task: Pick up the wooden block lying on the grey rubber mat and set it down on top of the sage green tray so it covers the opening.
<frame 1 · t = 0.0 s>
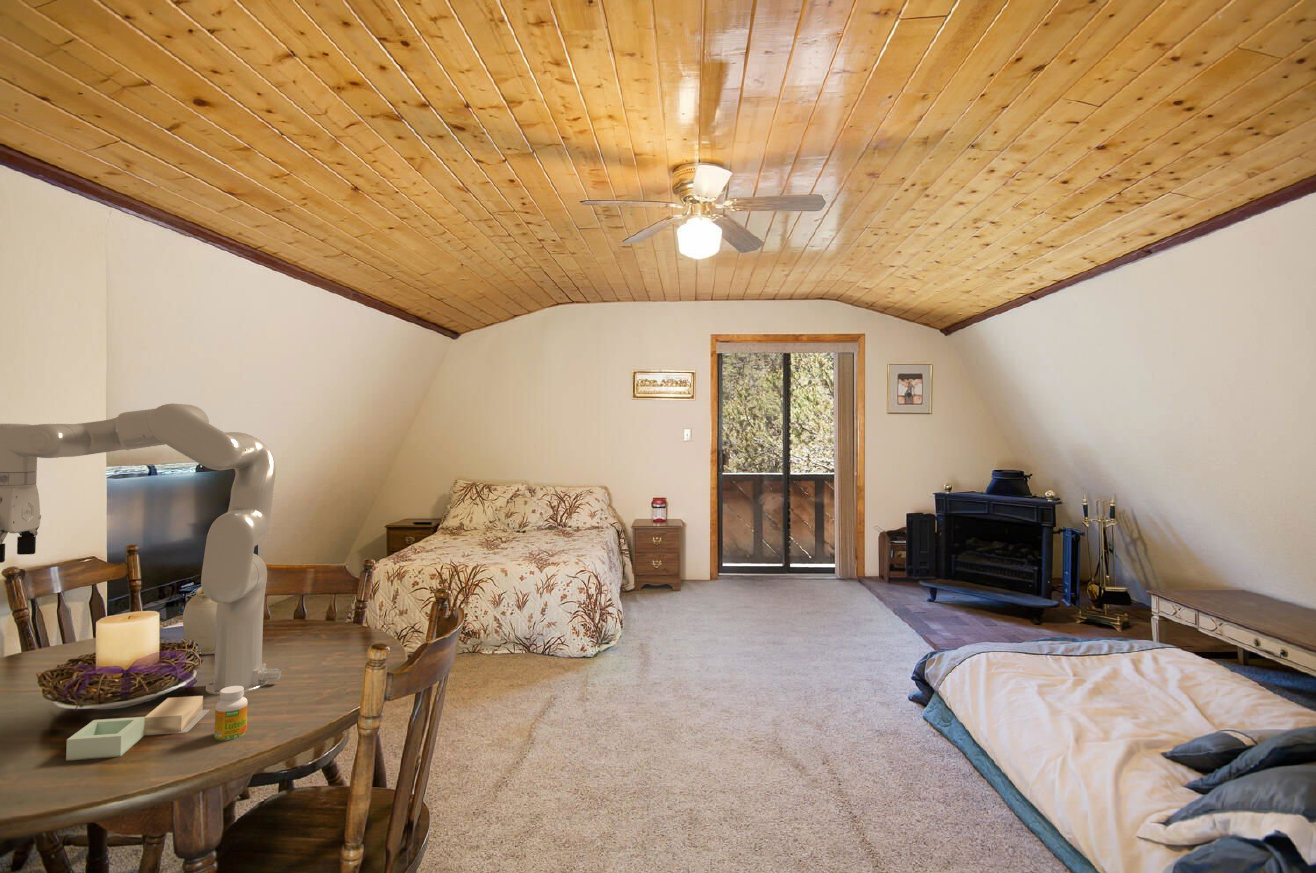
hand: (11, 558, 146), 31 cm above the table, tool pointing down, fingers open, 9 cm apart
wooden block: (174, 722, 136), point 1 cm above the table, touching mat
mat: (174, 725, 136), on the table
sage green tray: (106, 751, 125), on the table
jug: (215, 648, 184), on the table
supplement bottle: (230, 739, 132), on the table
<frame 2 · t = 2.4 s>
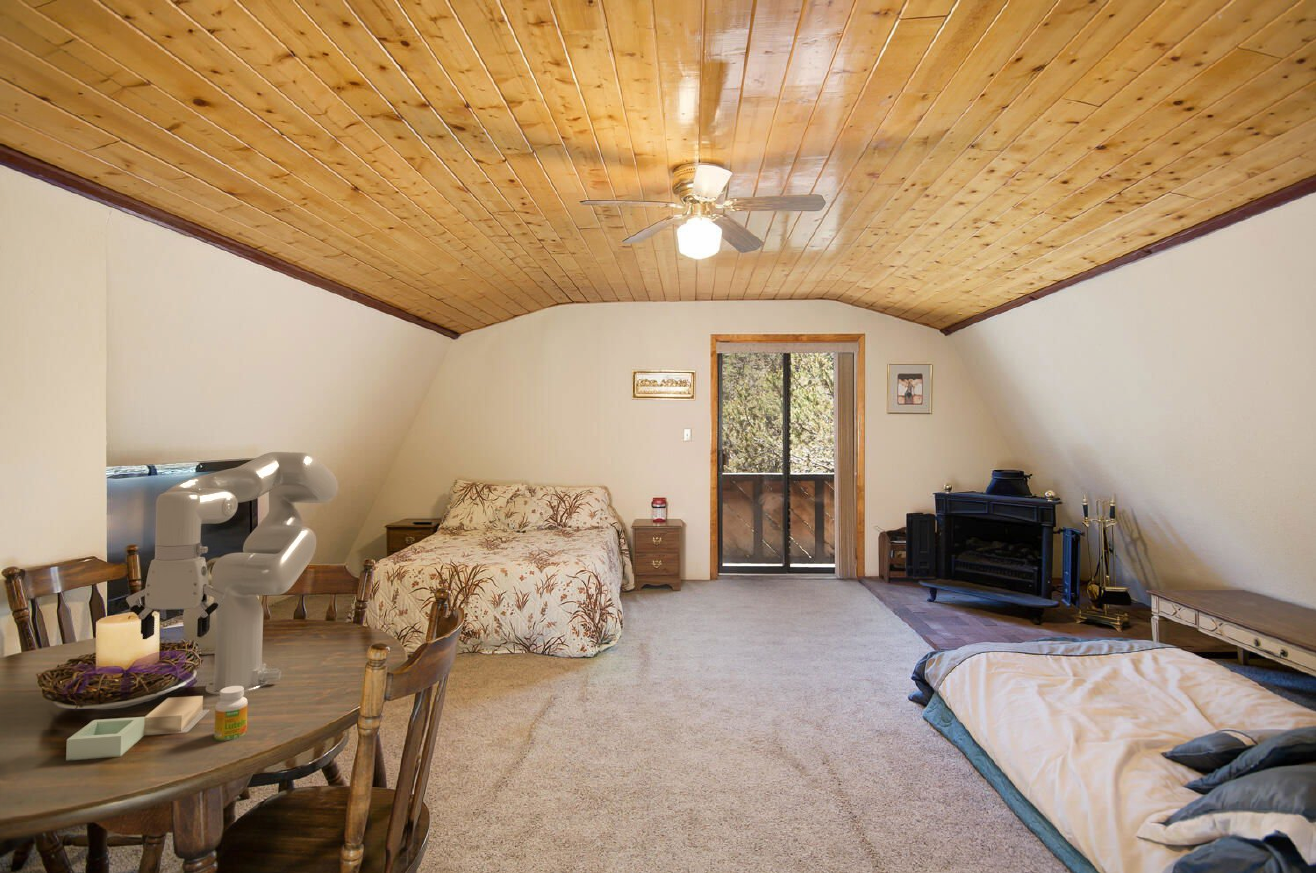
hand: (175, 636, 136), 18 cm above the table, tool pointing down, fingers open, 9 cm apart
nothing on the table moved.
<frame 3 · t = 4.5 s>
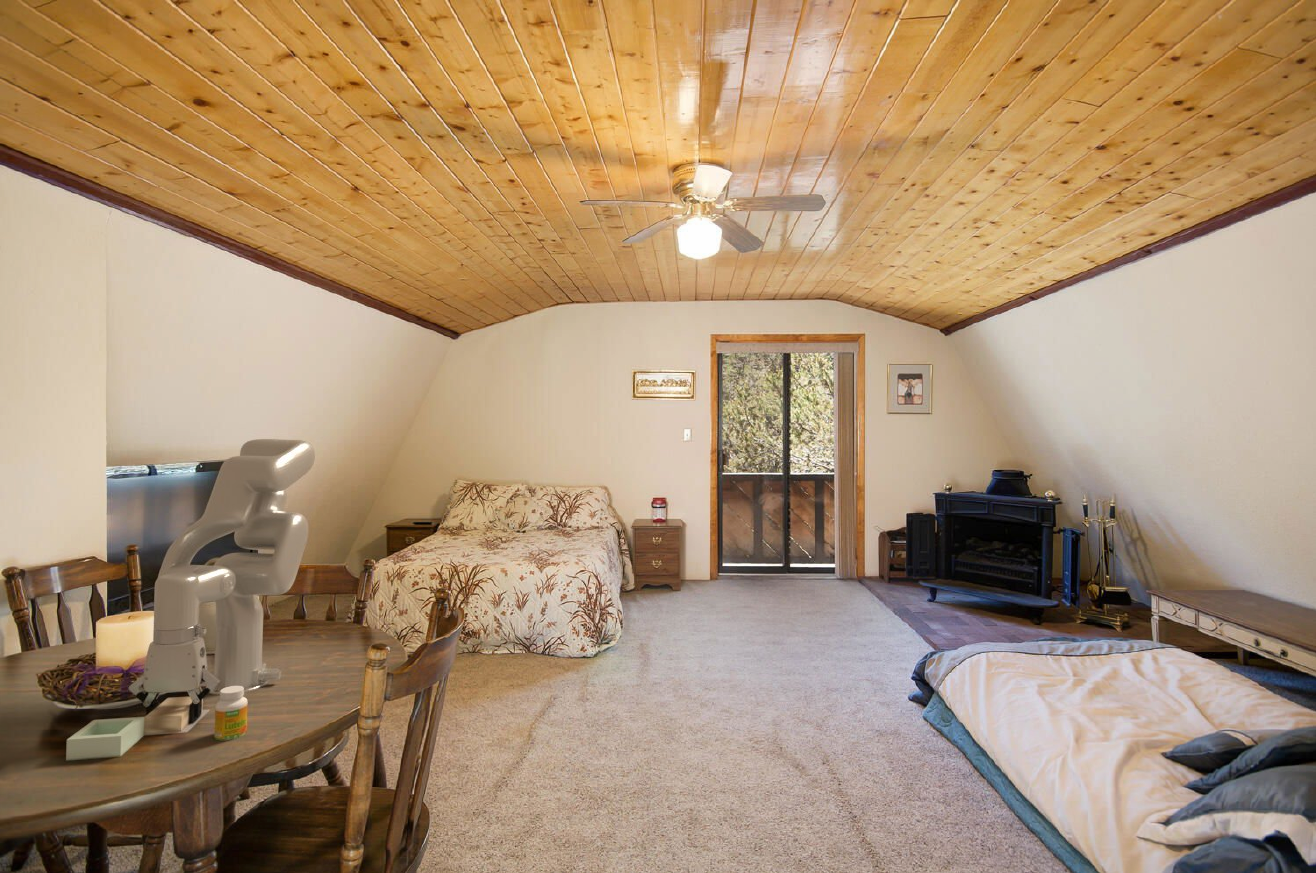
hand: (174, 721, 136), 1 cm above the table, tool pointing down, fingers closed on wooden block, mat, 6 cm apart
wooden block: (174, 722, 136), point 1 cm above the table, touching gripper, mat
everything else where it was.
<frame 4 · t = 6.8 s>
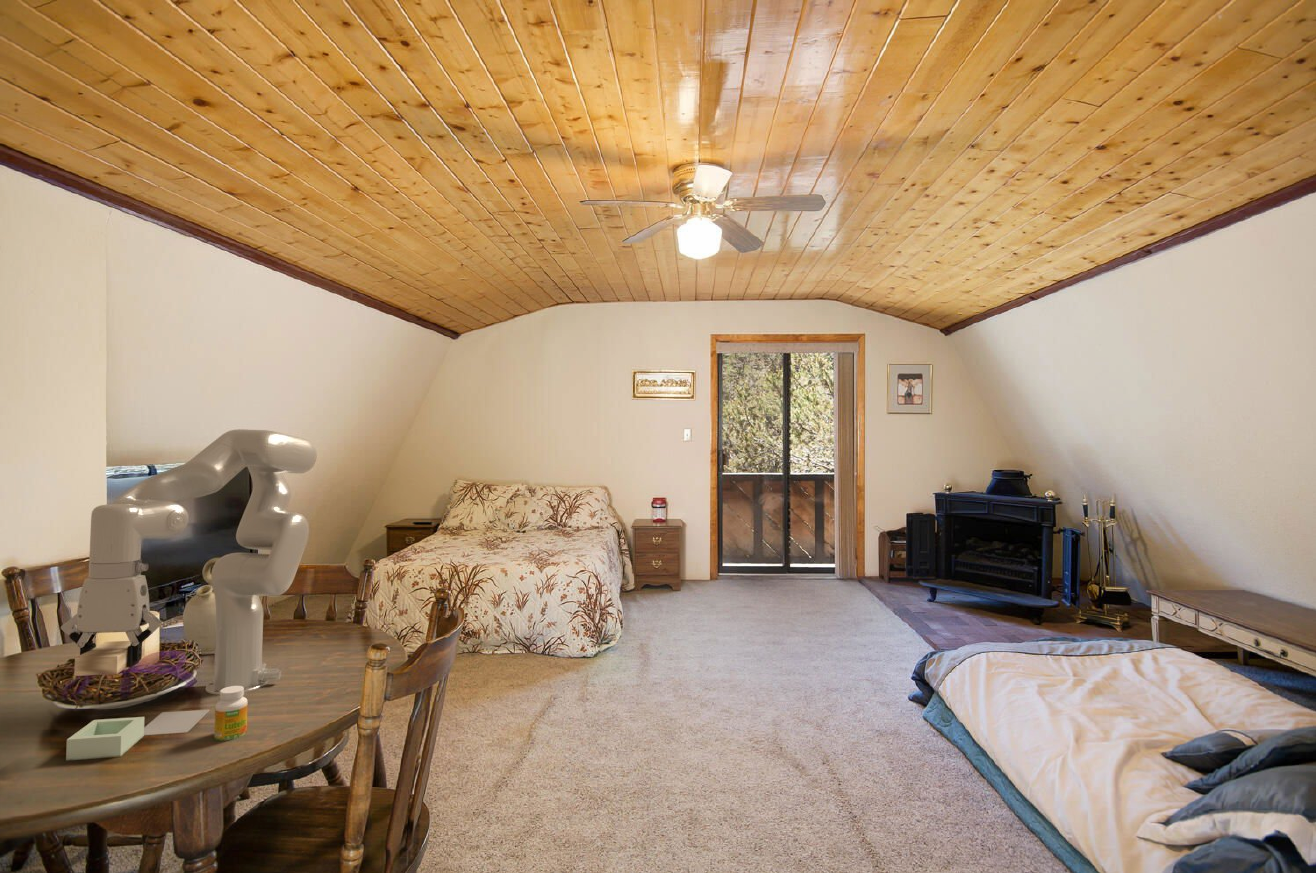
hand: (110, 665, 125), 16 cm above the table, tool pointing down, fingers closed on wooden block, 6 cm apart
wooden block: (110, 665, 125), point 16 cm above the table, touching gripper
everything else where it was.
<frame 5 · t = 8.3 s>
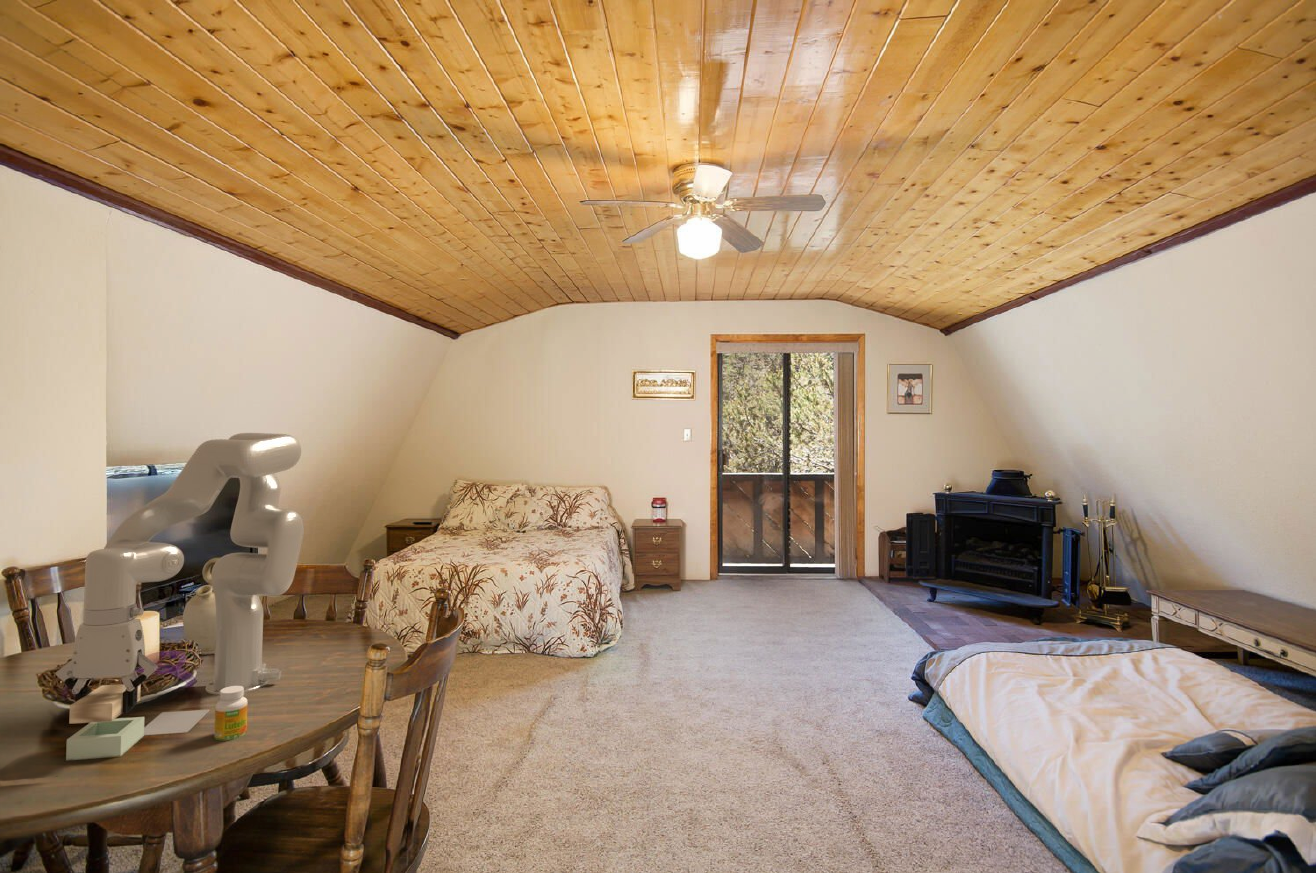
hand: (106, 710, 125), 8 cm above the table, tool pointing down, fingers closed on wooden block, 6 cm apart
wooden block: (106, 711, 125), point 8 cm above the table, touching gripper
everything else where it was.
when the fingers open (6 cm above the table, at t = 9.2 s): wooden block drops 1 cm, resting on sage green tray.
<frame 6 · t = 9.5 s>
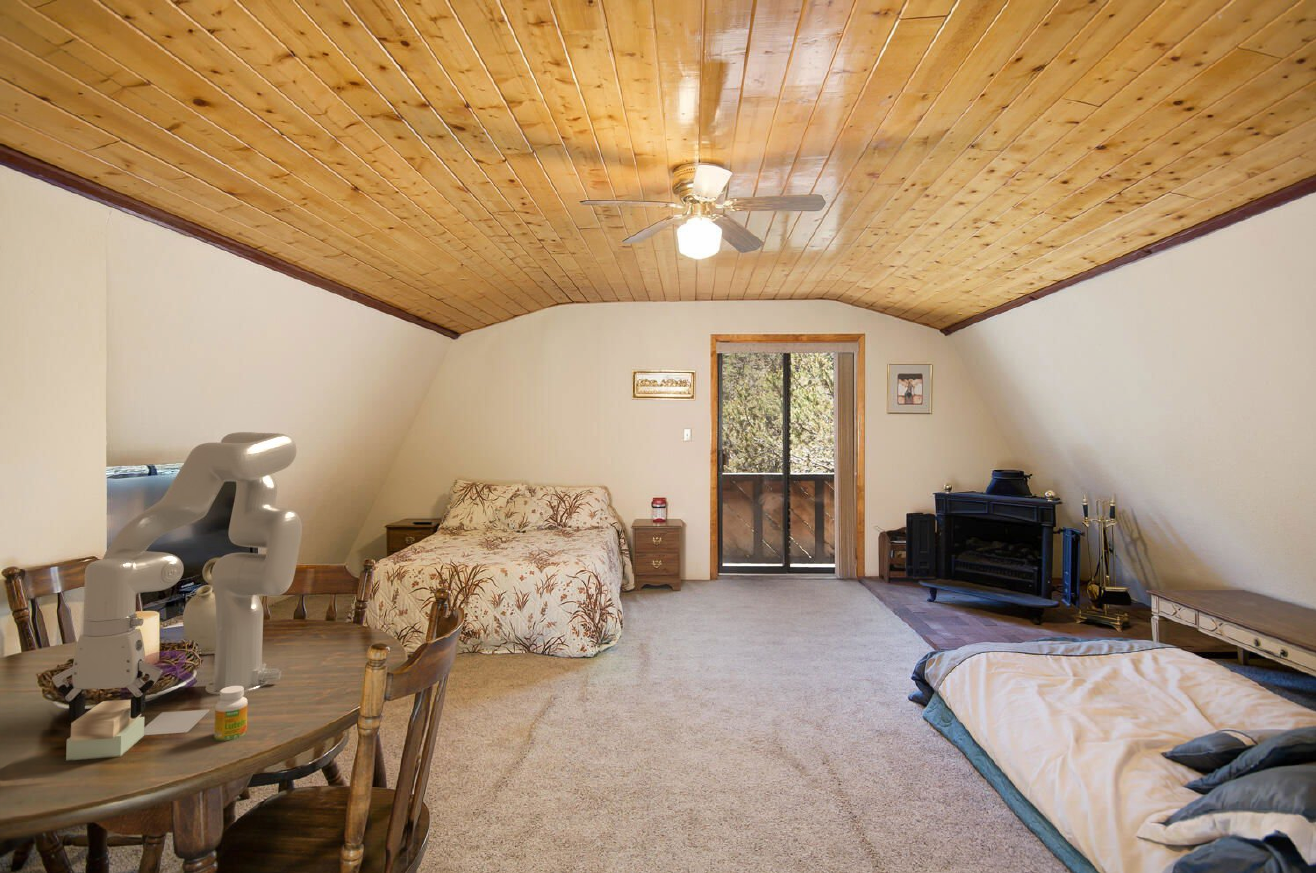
hand: (107, 717, 125), 6 cm above the table, tool pointing down, fingers open, 9 cm apart
wooden block: (107, 727, 125), point 4 cm above the table, touching sage green tray
everything else where it was.
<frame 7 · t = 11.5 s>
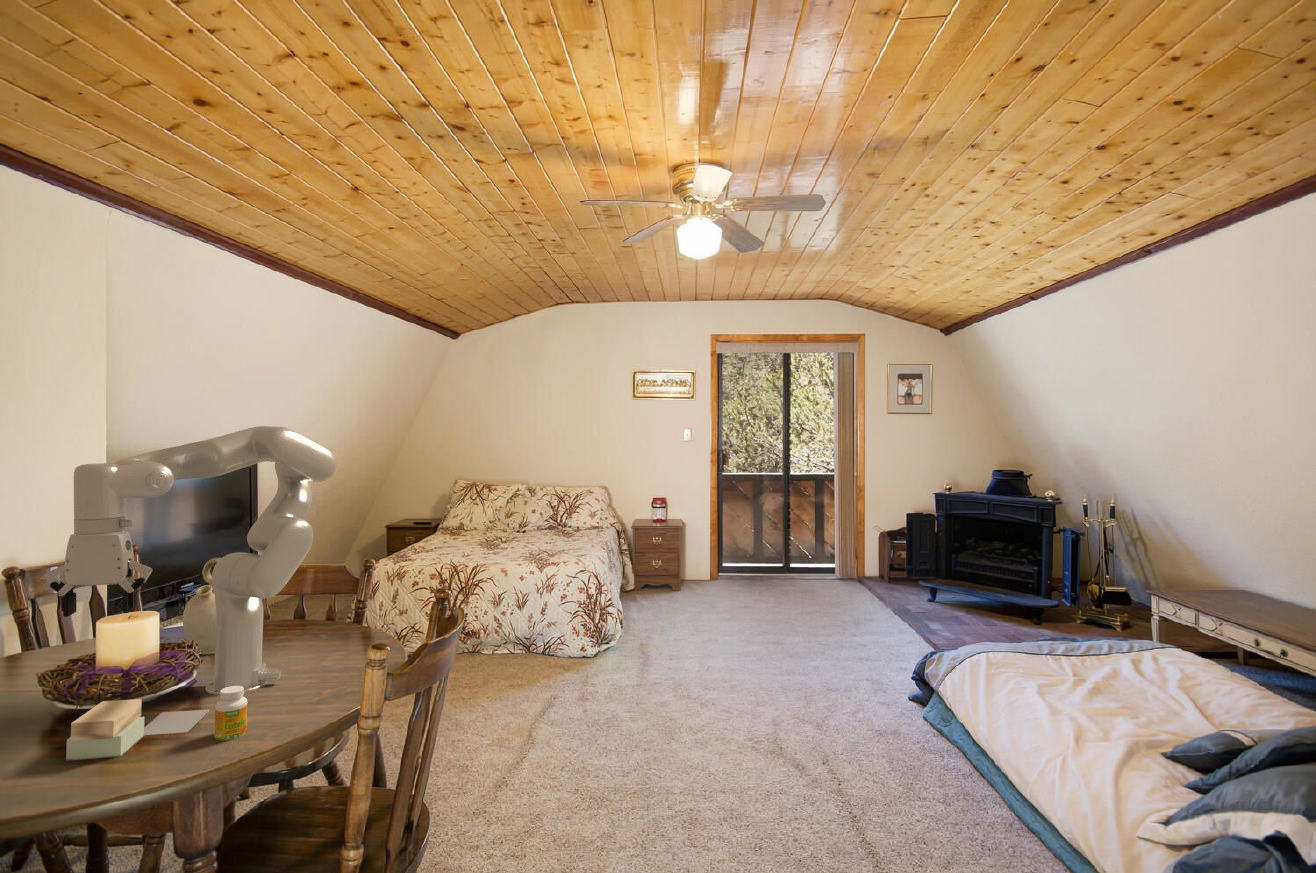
hand: (99, 613, 132), 24 cm above the table, tool pointing down, fingers open, 9 cm apart
nothing on the table moved.
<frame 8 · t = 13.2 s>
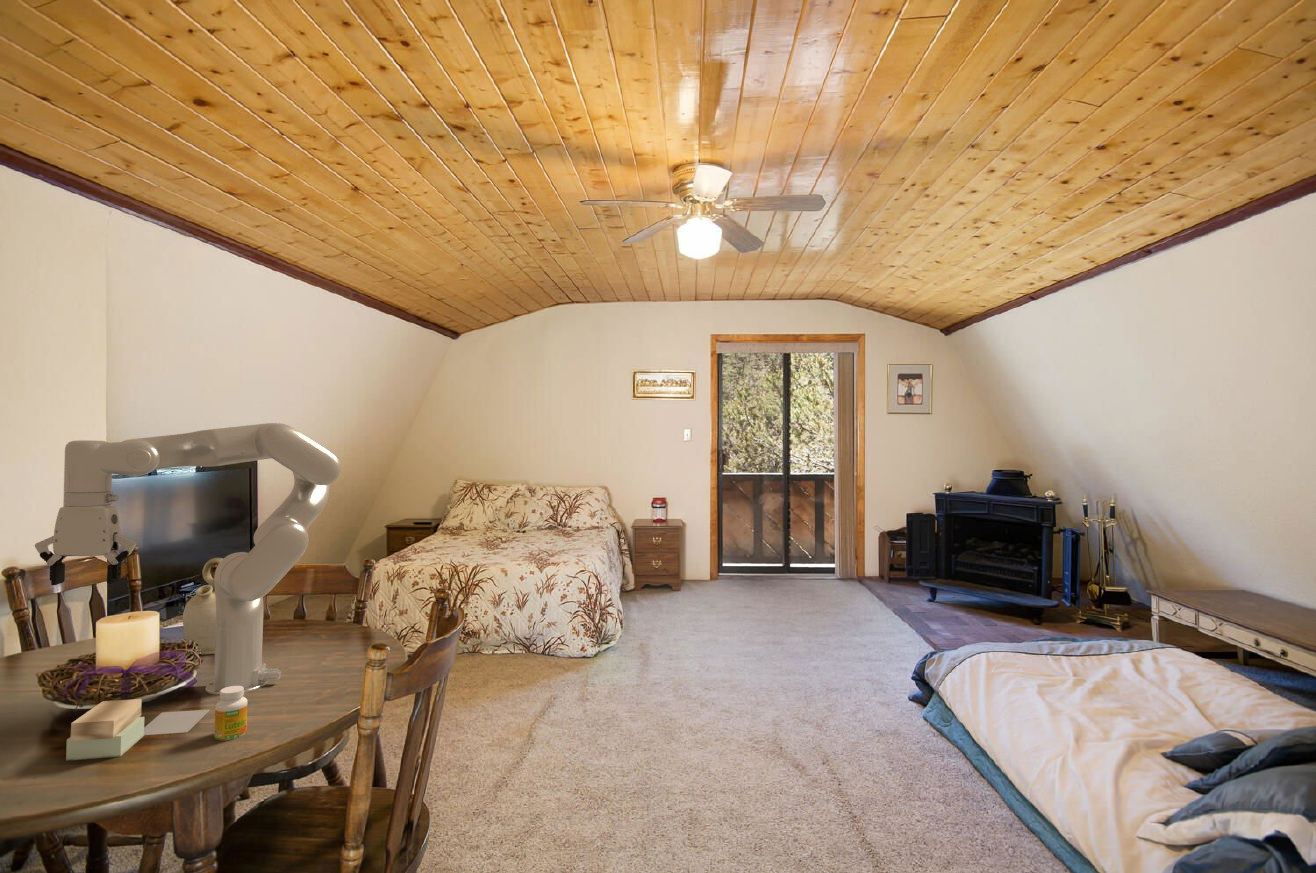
hand: (85, 583, 138), 28 cm above the table, tool pointing down, fingers open, 9 cm apart
nothing on the table moved.
at the end: wooden block 0.1 cm off-centre on the sage green tray, point 4.5 cm above the sage green tray's base; wooden block tilted 0°; the gripper is holding nothing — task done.
